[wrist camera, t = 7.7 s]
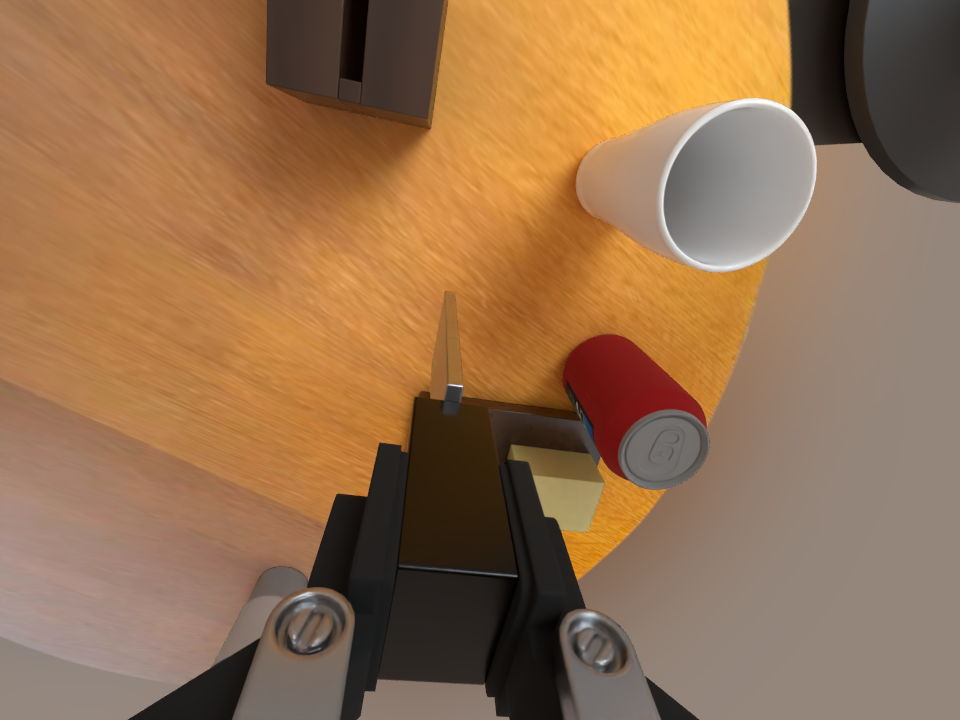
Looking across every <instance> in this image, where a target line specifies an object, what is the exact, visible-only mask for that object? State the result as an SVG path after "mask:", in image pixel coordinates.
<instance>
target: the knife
mask: <svg viewBox="0 0 960 720" xmlns="http://www.w3.org/2000/svg"><path fill="white" fill-rule="evenodd" d="M463 389H464V384H463V374H462V363H461V352H460V341H459V331H458V320H457V309H456V298H455V293H454V292H449V291H445V294H444V300H443V305H442V311H441V316H440V322H439V327H438V333H437V338H436V344H435V349H434V355H433V360H432V369H431V389H430V398H424V397H415V398H414V400H413V406H412V412H411V418H410V424H409V430H408V435H407V441H406V447H405V452H408V453H409V460H408V469H407V479H406V488H405V497H404V506H403V515H402V524H401V533H400V542H399V551H398V560H397V569H396V576H395V583H394V590H393V595H392V601H391V606H390V612H389V617H388V623H387V628H386V634H385V639H384V645H383V650H382V656H381V661H380V667H379V672H378V678H377V679H379V680H396V681H398V680H399V681H416V682H435V683H454V684H472V685H473V684H474V685H484V684H485V682H486V679H487V676H488V673H489V670H490V667H491V664H492V661H493V658H494V654H495V651H496V648H497V645H498V642H499V639H500V636H501V633H502V630H503V627H504V624H505V621H506V617H507V614H508V611H509V608H510V605H511V602H512V599H513V596H514V593H515V590H516V587H517V584H518V581H519V571H518V565H517V560H516V554H515V549H514V543H513V538H512V532H511V527H510V521H509V516H508V510H507V505H506V499H505V494H504V488H503V483H502V477H501V472H500V467H499V459H498V454H497V448H496V443H495V437H494V432H493V427H492V421H491V416H490V411H489V407H486V406H479V405H472V404H465V403H461V398H462V393H463Z"/></svg>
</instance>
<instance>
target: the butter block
mask: <svg viewBox="0 0 960 720" xmlns="http://www.w3.org/2000/svg"><path fill="white" fill-rule="evenodd" d="M507 459H511V460H519V461H527V462H529V465H530V468H531V471H532V475H533V478H534V482H535V485H536V488H537V492H538V495H539V499H540V502H541V506H542V509H543V512H544V516H545V517H553V518H555V519H556V520H557V522H558V524H559V527H560V530H564V531H575V532H586V533H588V531H589V528H590V525H591V522H592V519H593V516H594V514H595V511H596V508H597V505H598V502H599V500H600V497H601V494H602V491H603V488H604V485H605V482H604V480H603V478H602V476H601V474H600V472H599V470H598V468H597V466H596V464H595V463H594V461H593V459H592V457H591V455H590V454H586V453H578V452H570V451H561V450H553V449H545V448H537V447H528V446H520V445H511V446H510V450H509V454H508V458H507Z"/></svg>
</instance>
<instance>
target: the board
mask: <svg viewBox="0 0 960 720" xmlns="http://www.w3.org/2000/svg"><path fill="white" fill-rule="evenodd" d="M420 397H424V398H430V393H429V392H422V391H421V392H420ZM461 403H465V404H472V405H479V406H486V407H489V411H490V416H491V421H492V427H493V432H494V437H495V443H496V448H497V454H498V459H499V464H504V462H505V460H506V459H507V458H508V454H509V450H510V446H511V445H520V446H528V447H537V448H545V449H553V450H561V451H570V452H578V453H586V454H590V455H591V457H592V459H593V461H594V463H595V464H596V466H597V465H598V462H599V459H600V456H601V455H600V454H599V452H598V450H597V448H596V447H595V445H594V443H593V441H592V440H591V438H590V436H589V434H588V432H587V430H586V429H585V427H584V425H583V423H582V421H581V419H580V418H579V416H578V414H577V412H571V411H563V410H556V409H548V408H541V407H533V406H526V405H518V404H511V403H504V402H496V401H489V400H481V399H474V398H466V397H462V398H461Z"/></svg>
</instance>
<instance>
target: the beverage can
mask: <svg viewBox="0 0 960 720" xmlns="http://www.w3.org/2000/svg"><path fill="white" fill-rule="evenodd" d="M563 385H564V388H565V391H566V393H567V395H568V397H569V399H570V401H571V402H572V404H573V406H574V408H575V410H576V412H577V414H578V416H579V418H580V419H581V421H582V423H583V425H584V427H585V429H586V430H587V432H588V434H589V436H590V438H591V440H592V441H593V443H594V445H595V447H596V448H597V450H598V452H599V454H600V455H601V457H602V459H603V461H604V462H605V464H606V465H607V467H608V468H609V469H610V470H611V471H612V472H614V473H615V474H616V475H618V476H620V477H621V478H624V479H626V480H629V481H631V482H632V483H634V484H635V485H637V486H639V487H642V488H645V489H652V490H660V489H667V488H671V487H674V486H676V485H679V484H681V483H683V482H685V481H686V480H688V479H689V478H691V477H692V476H693V475H694V474H695V473H696V472H697V471H698V470H699V469H700V468H701V466H702V465H703V464H704V462H705V460H706V457H707V455H708V451H709V444H710V442H709V441H710V440H709V435H708V432H707V424H706V418H705V415H704V412H703V410H702V408H701V406H700V405H699V404H698V402H697V401H696V400H695V399H694V398H693V397H691V396H690V395H689V394H688V393H687V392H686V391H685V390H684V389H683V388H682V387H681V386H680V385H679V384H678V383H677V382H676V381H675V380H674V379H673V378H671V377H670V376H669V375H668V374H667V373H666V372H665V371H664V370H663V369H662V368H661V367H660V366H659V365H657V364H656V363H655V362H654V361H653V360H652V359H651V358H650V357H649V356H648V355H646V354H645V353H644V352H643V351H642V350H641V349H640V348H638V347H637V346H636V345H635V344H634V343H633V342H631V341H630V340H628V339H626V338H624V337H621V336H618V335H600V336H596V337H593V338H591V339H588V340H586V341H585V342H583V343H582V344H580V345H579V346H578V347H577V348H576V349H575V350H574V351H573V352H572V353H571V355H570V356H569V358H568V359H567V361H566V364H565V367H564V371H563Z"/></svg>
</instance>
